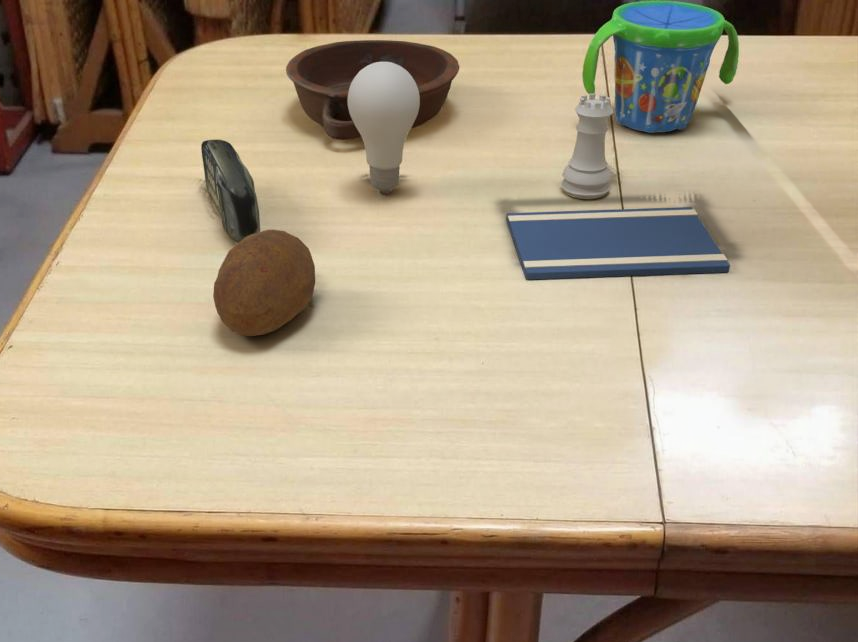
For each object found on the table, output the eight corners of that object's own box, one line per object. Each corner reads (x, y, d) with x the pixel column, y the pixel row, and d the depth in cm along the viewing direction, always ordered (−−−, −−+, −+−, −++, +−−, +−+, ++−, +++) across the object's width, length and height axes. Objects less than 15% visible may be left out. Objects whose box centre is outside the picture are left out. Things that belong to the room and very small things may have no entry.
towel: (690, 213, 92) (692, 205, 92) (728, 272, 84) (730, 264, 83) (506, 219, 91) (506, 211, 91) (526, 280, 83) (526, 271, 83)
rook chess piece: (559, 199, 94) (568, 106, 89) (560, 179, 98) (569, 88, 92) (610, 202, 94) (622, 108, 88) (610, 181, 97) (621, 90, 92)
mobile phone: (194, 136, 93) (231, 199, 82) (228, 132, 94) (269, 193, 83) (201, 192, 96) (238, 259, 85) (234, 187, 97) (275, 254, 86)
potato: (196, 344, 76) (183, 262, 72) (252, 282, 83) (244, 204, 79) (281, 359, 74) (274, 276, 70) (332, 294, 81) (328, 216, 77)
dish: (473, 84, 117) (475, 35, 114) (438, 160, 101) (439, 106, 98) (319, 74, 120) (316, 26, 117) (261, 147, 104) (256, 93, 101)
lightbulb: (408, 175, 98) (408, 49, 91) (427, 202, 94) (429, 71, 87) (344, 182, 97) (339, 55, 90) (359, 210, 93) (355, 78, 86)
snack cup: (708, 100, 113) (727, -5, 106) (745, 137, 105) (769, 26, 98) (563, 108, 111) (574, 2, 105) (591, 146, 103) (604, 33, 97)
